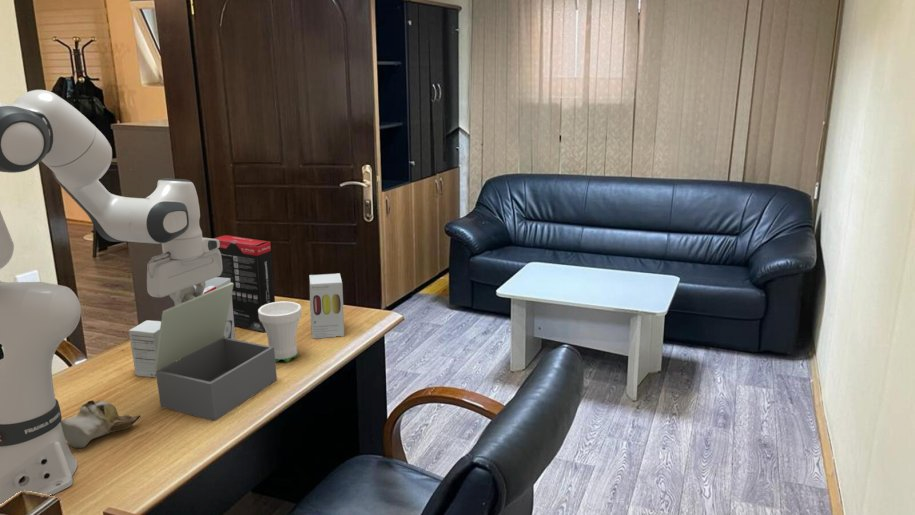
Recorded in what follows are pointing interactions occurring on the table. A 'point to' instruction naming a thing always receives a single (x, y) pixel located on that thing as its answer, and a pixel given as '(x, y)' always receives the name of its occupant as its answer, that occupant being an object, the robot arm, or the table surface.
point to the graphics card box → (247, 277)
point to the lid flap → (192, 324)
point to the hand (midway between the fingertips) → (189, 304)
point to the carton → (216, 378)
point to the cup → (281, 327)
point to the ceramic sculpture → (94, 423)
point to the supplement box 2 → (326, 305)
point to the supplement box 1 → (145, 347)
